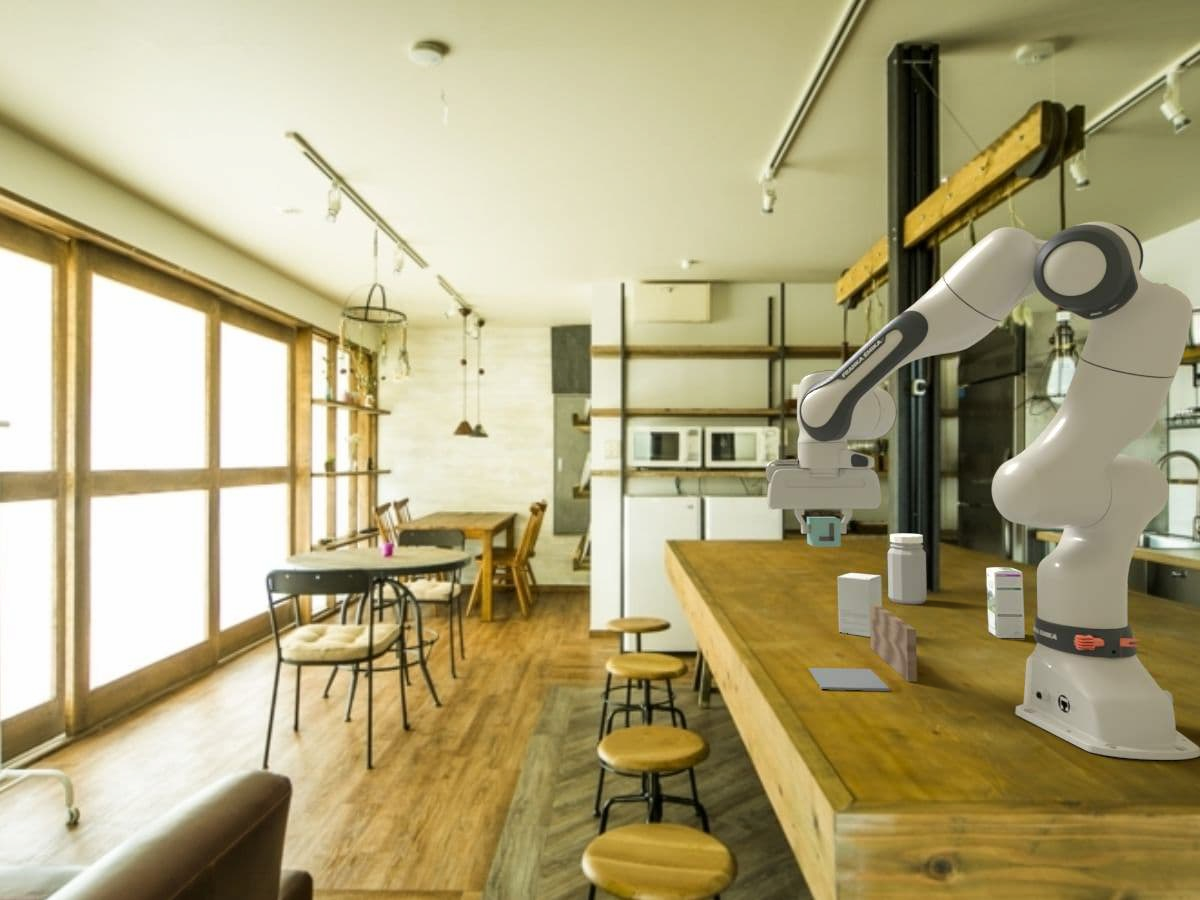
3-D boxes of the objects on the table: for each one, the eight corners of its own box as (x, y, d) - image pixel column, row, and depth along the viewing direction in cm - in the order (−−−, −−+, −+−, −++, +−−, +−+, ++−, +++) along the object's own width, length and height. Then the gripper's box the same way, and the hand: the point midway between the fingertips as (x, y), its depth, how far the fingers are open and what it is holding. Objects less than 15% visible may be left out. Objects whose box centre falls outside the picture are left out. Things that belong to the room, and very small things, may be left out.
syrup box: (1025, 639, 150) (1024, 571, 150) (995, 638, 151) (994, 570, 152) (1015, 633, 156) (1014, 567, 156) (986, 632, 157) (985, 566, 157)
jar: (892, 604, 188) (891, 536, 188) (884, 597, 198) (883, 532, 198) (932, 605, 186) (930, 536, 187) (921, 598, 196) (920, 533, 196)
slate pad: (889, 691, 117) (889, 688, 117) (821, 690, 118) (821, 687, 118) (870, 671, 128) (870, 669, 128) (808, 670, 129) (808, 668, 129)
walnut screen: (916, 681, 122) (915, 629, 123) (907, 681, 122) (906, 629, 123) (878, 648, 144) (877, 604, 144) (870, 648, 144) (870, 604, 145)
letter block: (841, 546, 129) (840, 518, 129) (812, 546, 129) (812, 519, 129) (834, 543, 134) (833, 516, 134) (807, 543, 134) (806, 516, 135)
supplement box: (883, 631, 158) (882, 575, 159) (870, 638, 153) (869, 579, 153) (851, 626, 163) (850, 571, 164) (837, 632, 158) (836, 575, 158)
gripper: (768, 459, 130) (769, 535, 130) (883, 458, 128) (884, 535, 128) (763, 459, 136) (764, 531, 136) (873, 458, 134) (874, 531, 134)
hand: (823, 533), depth 132 cm, fingers closed on letter block, 5 cm apart
